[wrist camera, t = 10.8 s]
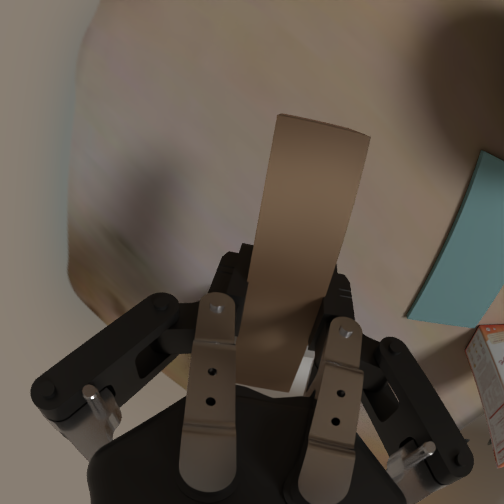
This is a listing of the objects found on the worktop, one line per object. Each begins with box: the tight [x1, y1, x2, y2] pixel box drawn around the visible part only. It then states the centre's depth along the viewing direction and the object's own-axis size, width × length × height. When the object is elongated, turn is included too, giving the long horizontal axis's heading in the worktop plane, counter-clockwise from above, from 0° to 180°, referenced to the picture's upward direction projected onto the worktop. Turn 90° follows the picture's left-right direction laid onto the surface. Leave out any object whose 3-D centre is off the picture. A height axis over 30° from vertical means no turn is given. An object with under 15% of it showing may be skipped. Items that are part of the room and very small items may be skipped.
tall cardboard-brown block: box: [234, 114, 371, 398], centre depth 15 cm, size 18×7×4 cm, turn 171°
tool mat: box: [406, 150, 504, 328], centre depth 29 cm, size 22×12×1 cm, turn 172°
